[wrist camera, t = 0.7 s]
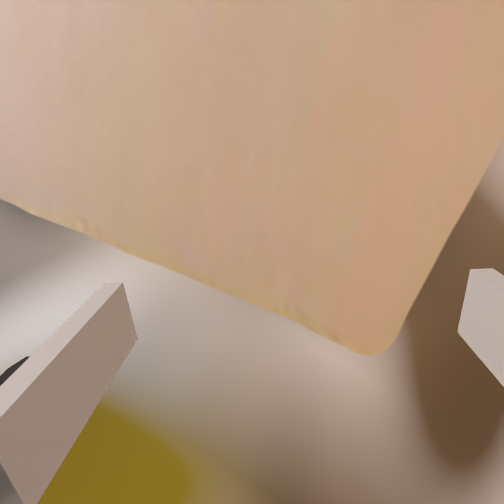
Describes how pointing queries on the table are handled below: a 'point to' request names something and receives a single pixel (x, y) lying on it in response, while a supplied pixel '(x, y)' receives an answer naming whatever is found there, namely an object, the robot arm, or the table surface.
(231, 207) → the table surface
